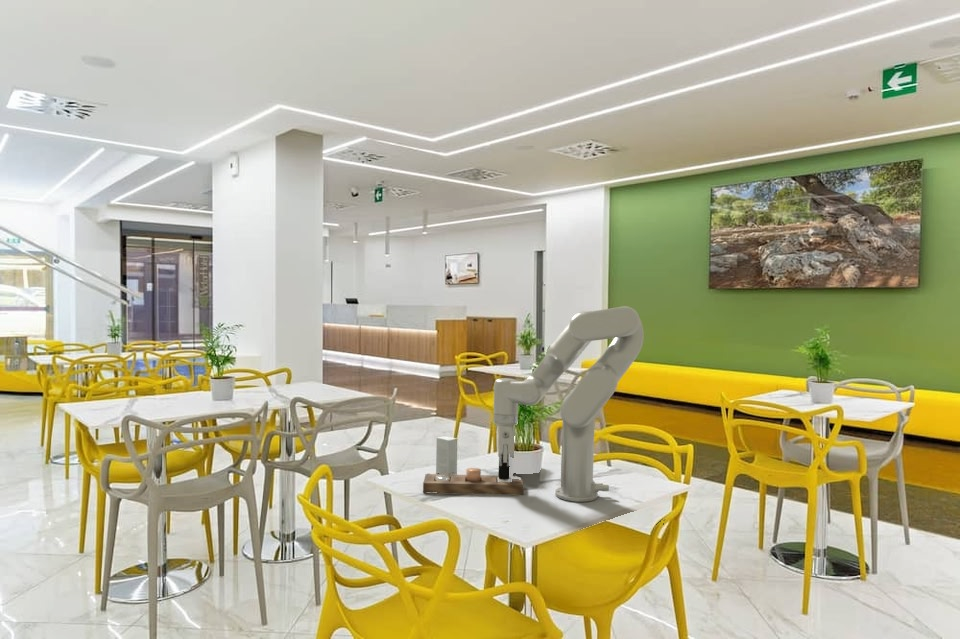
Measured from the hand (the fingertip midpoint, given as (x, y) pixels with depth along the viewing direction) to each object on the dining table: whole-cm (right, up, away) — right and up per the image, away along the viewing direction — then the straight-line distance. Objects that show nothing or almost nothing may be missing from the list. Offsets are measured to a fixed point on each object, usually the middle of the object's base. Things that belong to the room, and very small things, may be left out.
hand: (503, 478), depth 199 cm
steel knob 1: (-19, -3, 0) cm, 19 cm away
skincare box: (-19, -3, +17) cm, 25 cm away
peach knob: (-9, -1, 0) cm, 9 cm away
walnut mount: (-9, -3, 0) cm, 10 cm away
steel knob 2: (0, -3, 0) cm, 3 cm away
